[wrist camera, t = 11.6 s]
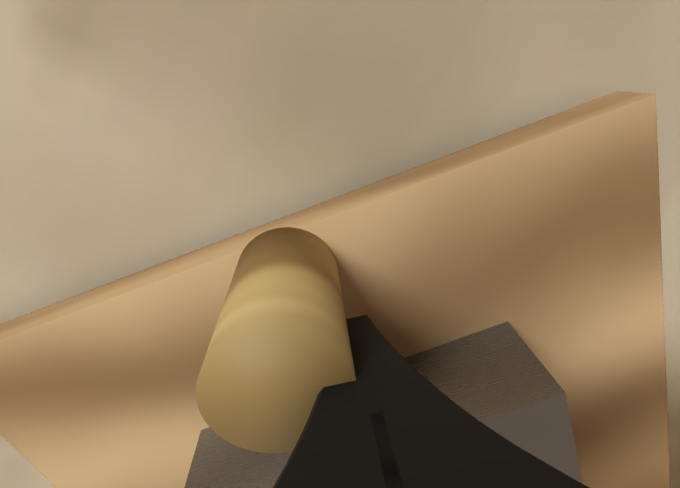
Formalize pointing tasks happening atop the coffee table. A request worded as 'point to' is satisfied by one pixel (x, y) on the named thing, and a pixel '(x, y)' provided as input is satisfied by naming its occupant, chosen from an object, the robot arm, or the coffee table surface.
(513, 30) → the coffee table surface
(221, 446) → the cover
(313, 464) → the robot arm
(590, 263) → the wooden base with peg
